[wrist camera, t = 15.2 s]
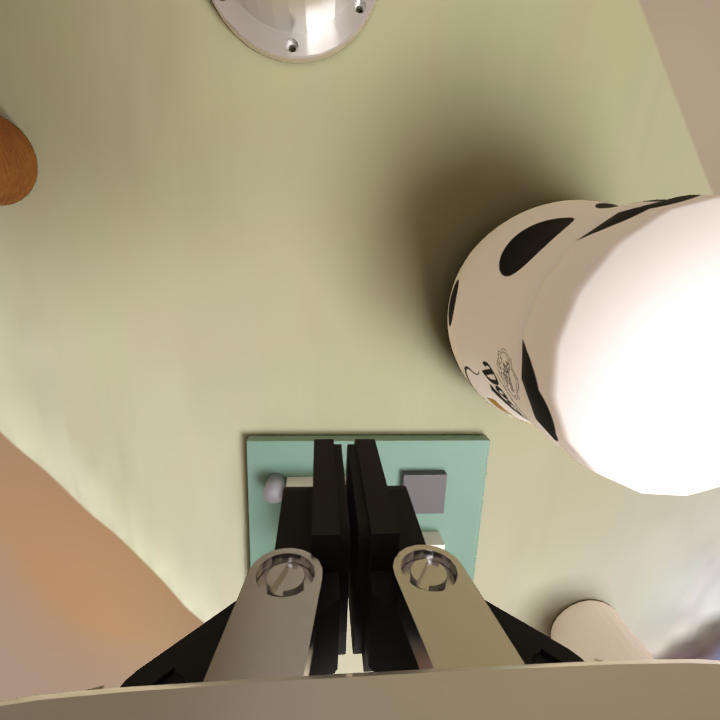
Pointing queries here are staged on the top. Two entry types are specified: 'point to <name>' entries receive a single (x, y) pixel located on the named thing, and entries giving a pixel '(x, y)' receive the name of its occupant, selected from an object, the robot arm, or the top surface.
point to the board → (401, 467)
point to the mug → (597, 633)
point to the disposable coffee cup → (15, 164)
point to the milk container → (603, 334)
